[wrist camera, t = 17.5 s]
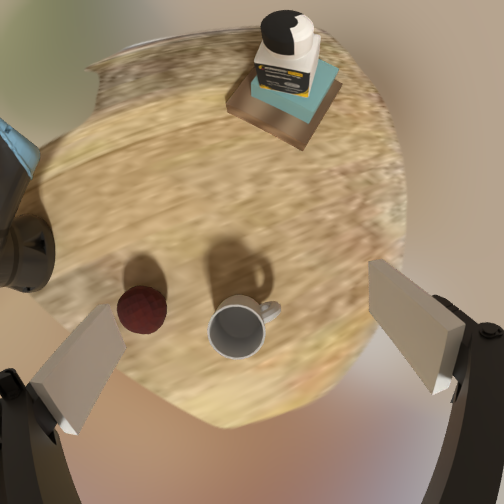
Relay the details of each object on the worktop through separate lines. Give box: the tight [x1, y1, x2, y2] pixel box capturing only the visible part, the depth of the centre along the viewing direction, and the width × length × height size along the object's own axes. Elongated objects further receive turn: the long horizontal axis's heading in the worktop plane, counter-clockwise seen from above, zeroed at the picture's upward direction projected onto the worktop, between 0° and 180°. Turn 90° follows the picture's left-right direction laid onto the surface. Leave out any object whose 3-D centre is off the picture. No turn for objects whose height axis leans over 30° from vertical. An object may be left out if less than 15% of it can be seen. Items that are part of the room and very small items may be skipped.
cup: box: [207, 295, 281, 359], centre depth 39 cm, size 7×10×9 cm
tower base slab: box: [226, 66, 342, 151], centre depth 42 cm, size 14×14×4 cm
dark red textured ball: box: [117, 286, 167, 334], centre depth 40 cm, size 7×8×7 cm
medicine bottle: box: [254, 10, 321, 98], centre depth 30 cm, size 7×7×12 cm
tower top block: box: [251, 59, 339, 124], centre depth 38 cm, size 10×10×4 cm
